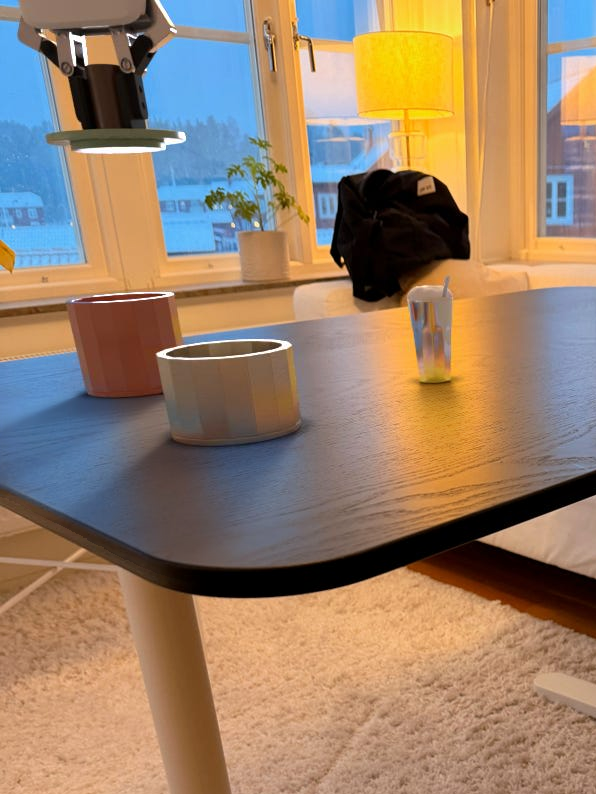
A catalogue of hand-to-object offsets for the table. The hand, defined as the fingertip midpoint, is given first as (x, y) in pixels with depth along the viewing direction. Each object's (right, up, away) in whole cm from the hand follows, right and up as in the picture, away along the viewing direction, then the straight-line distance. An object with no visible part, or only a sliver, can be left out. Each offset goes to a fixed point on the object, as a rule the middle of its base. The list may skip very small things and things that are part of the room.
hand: (115, 129), depth 76 cm
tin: (+11, -27, -3) cm, 29 cm away
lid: (0, -1, 0) cm, 1 cm away
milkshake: (+27, -18, +14) cm, 35 cm away
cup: (-5, -17, +17) cm, 25 cm away
